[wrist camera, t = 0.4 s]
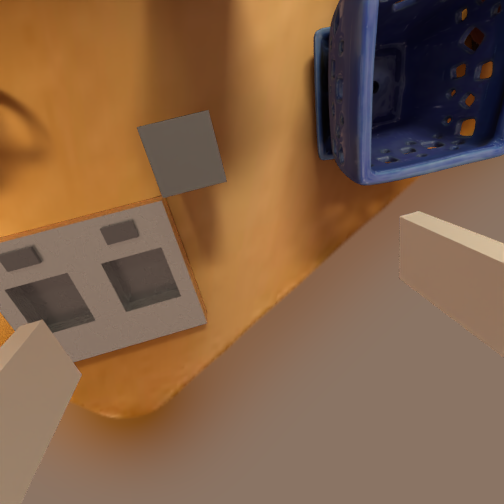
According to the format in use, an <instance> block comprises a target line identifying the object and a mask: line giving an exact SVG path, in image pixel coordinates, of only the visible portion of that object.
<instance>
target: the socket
mask: <svg viewBox="0 0 504 504" xmlns="http://www.w3.org/2000/svg"><path fill="white" fill-rule="evenodd" d="M0 312H1V314H2V315H3V316H4V317H5V319H6V320H7V321H8V323H9V324H10V325H11V326H12V328H13V329H14V330H15V331H16V330H17V329H18V328H19V326H22V325H25V324H29V323H32V322H35V321H39V320H42V319H43V321H44V322H45V324H46V325H47V326H48V328H49V329H50V331H51V332H52V333H53V335H54V336H55V338H56V339H57V340H58V342H59V343H60V345H61V346H62V347H63V349H64V350H65V352H66V353H67V354H68V356H69V357H70V359H71V360H72V361H73V362H76V361H80V360H83V359H87V358H90V357H94V356H97V355H100V354H104V353H107V352H111V351H114V350H117V349H121V348H124V347H128V346H131V345H135V344H138V343H141V342H145V341H148V340H152V339H155V338H158V337H162V336H165V335H169V334H172V333H175V332H179V331H182V330H186V329H189V328H193V327H196V326H199V325H203V324H206V323H207V311H206V308H205V305H204V302H203V300H202V297H201V294H200V291H199V289H198V286H197V283H196V280H195V278H194V275H193V272H192V269H191V267H190V264H189V261H188V259H187V256H186V253H185V250H184V248H183V245H182V242H181V239H180V237H179V234H178V231H177V228H176V226H175V223H174V220H173V217H172V215H171V212H170V209H169V206H168V204H167V201H166V198H163V197H162V196H159V197H155V198H151V199H147V200H144V201H140V202H136V203H132V204H128V205H124V206H121V207H117V208H113V209H109V210H105V211H101V212H98V213H94V214H90V215H86V216H82V217H78V218H74V219H71V220H67V221H63V222H59V223H55V224H51V225H48V226H44V227H40V228H36V229H32V230H28V231H25V232H21V233H17V234H13V235H9V236H5V237H2V238H0Z"/></svg>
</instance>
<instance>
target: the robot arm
mask: <svg viewBox="0 0 504 504" xmlns="http://www.w3.org/2000/svg"><path fill="white" fill-rule="evenodd" d="M399 234H400V235H399V236H400V237H399V242H400V243H399V247H400V248H399V279H400V280H402V281H403V282H404V283H406V284H407V285H408V286H410V287H411V288H412V289H413V290H415V291H416V292H418V293H419V294H420V295H421V296H423V297H424V298H425V299H427V300H428V301H429V302H431V303H432V304H433V305H435V306H436V307H437V308H439V309H440V310H441V311H443V312H444V313H445V314H447V315H448V316H449V317H450V318H452V319H453V320H454V321H456V322H457V323H458V324H460V325H461V326H462V327H464V328H465V329H466V330H468V331H469V332H470V333H472V334H473V335H474V336H476V337H477V338H478V339H480V340H481V341H482V342H483V343H485V344H486V345H488V346H489V347H490V348H491V349H493V350H494V351H496V352H497V353H498V354H499V355H501V356H502V357H503V358H504V243H501V242H498V241H496V240H493V239H490V238H488V237H485V236H483V235H480V234H477V233H475V232H472V231H469V230H467V229H464V228H461V227H459V226H456V225H454V224H451V223H449V222H446V221H443V220H441V219H438V218H436V217H433V216H430V215H428V214H425V213H422V212H420V211H417V212H414V213H411V214H407V215H403V216H400V232H399ZM81 376H82V374H81V373H80V371H79V370H78V368H77V367H76V366H75V364H74V363H73V361H72V360H71V359H70V357H69V356H68V354H67V353H66V352H65V350H64V349H63V347H62V346H61V345H60V343H59V342H58V340H57V339H56V338H55V336H54V335H53V333H52V332H51V331H50V329H49V328H48V326H47V325H46V324H45V322H44V321H43V319H42V320H39V321H35V322H32V323H29V324H25V325H22V326H19V328H18V329H17V330H16V331H15V332H14V333H13V334H12V335H11V336H10V338H9V339H8V340H7V341H6V342H5V343H4V344H3V345H2V346H1V348H0V504H21V503H22V501H23V498H24V496H25V494H26V492H27V490H28V488H29V486H30V484H31V481H32V479H33V477H34V475H35V473H36V471H37V469H38V467H39V465H40V462H41V460H42V458H43V456H44V454H45V452H46V450H47V448H48V445H49V443H50V441H51V439H52V437H53V435H54V433H55V431H56V429H57V426H58V424H59V422H60V420H61V418H62V416H63V414H64V411H65V409H66V407H67V405H68V403H69V401H70V399H71V397H72V395H73V392H74V390H75V388H76V386H77V384H78V382H79V380H80V378H81Z"/></svg>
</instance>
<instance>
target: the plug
mask: <svg viewBox="0 0 504 504" xmlns="http://www.w3.org/2000/svg"><path fill="white" fill-rule="evenodd" d="M137 129H138V132H139V135H140V138H141V140H142V143H143V146H144V148H145V151H146V154H147V156H148V159H149V162H150V165H151V167H152V170H153V173H154V175H155V178H156V181H157V184H158V186H159V189H160V192H161V194H162V197H163V198H165V197H169V196H173V195H177V194H181V193H185V192H188V191H192V190H196V189H200V188H204V187H207V186H211V185H215V184H219V183H223V182H227V180H226V176H225V172H224V168H223V164H222V160H221V157H220V153H219V149H218V145H217V141H216V137H215V133H214V129H213V126H212V122H211V118H210V114H209V110H206V111H202V112H198V113H194V114H190V115H185V116H181V117H177V118H173V119H169V120H165V121H161V122H157V123H153V124H148V125H144V126H140V127H137Z"/></svg>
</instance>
